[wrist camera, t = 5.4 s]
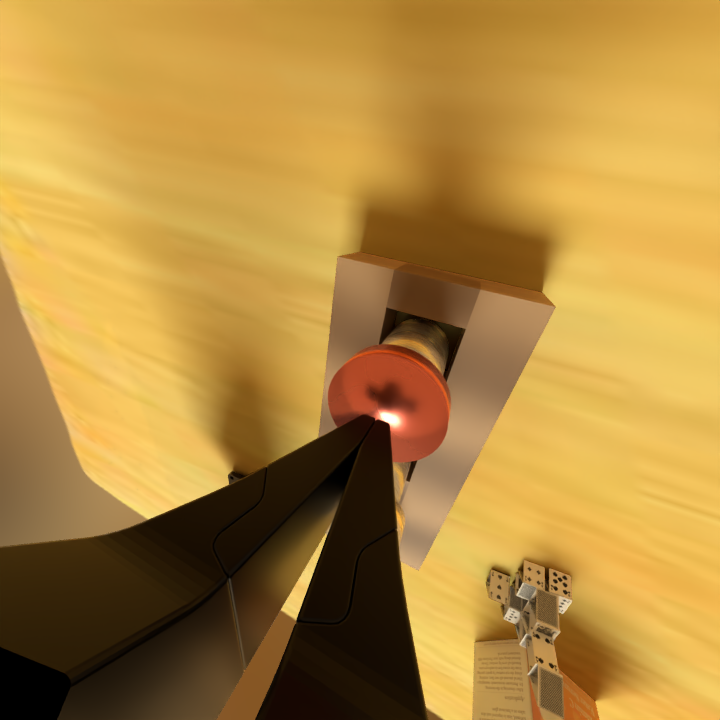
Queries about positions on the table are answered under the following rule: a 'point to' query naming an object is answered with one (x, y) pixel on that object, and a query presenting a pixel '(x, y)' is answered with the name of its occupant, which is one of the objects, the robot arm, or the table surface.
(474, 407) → the socket board
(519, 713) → the small box
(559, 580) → the house of cards
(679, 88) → the table surface
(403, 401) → the red plug
